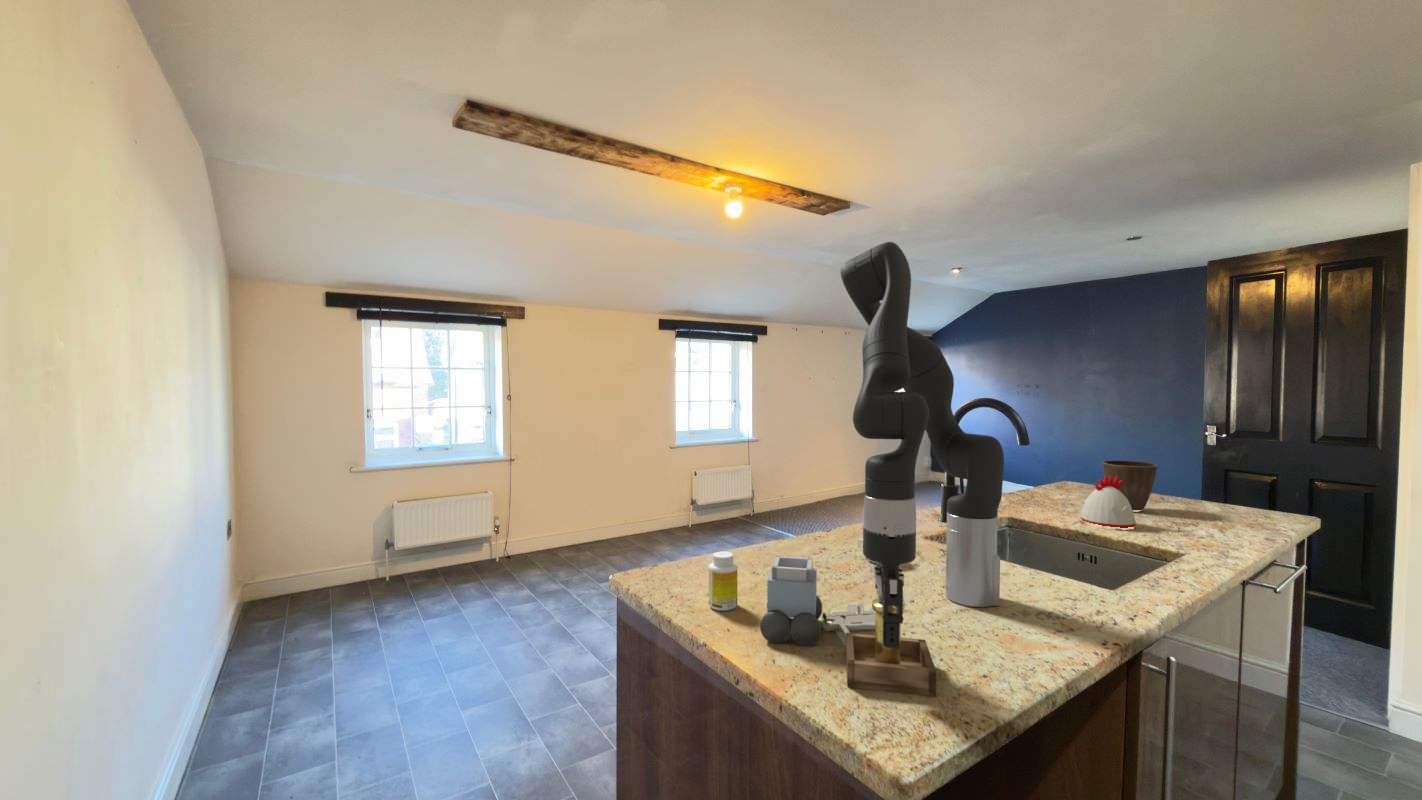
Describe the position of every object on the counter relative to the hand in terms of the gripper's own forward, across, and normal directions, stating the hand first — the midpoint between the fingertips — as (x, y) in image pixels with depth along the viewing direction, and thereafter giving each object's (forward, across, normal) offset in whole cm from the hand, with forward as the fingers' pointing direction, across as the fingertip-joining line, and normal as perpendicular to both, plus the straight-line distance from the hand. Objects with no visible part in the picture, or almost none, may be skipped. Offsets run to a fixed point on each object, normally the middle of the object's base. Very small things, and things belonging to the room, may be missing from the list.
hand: (888, 633), depth 85 cm
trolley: (+6, -12, -15) cm, 20 cm away
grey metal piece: (+7, -12, -4) cm, 14 cm away
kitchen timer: (+6, -107, +74) cm, 130 cm away
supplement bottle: (+6, -20, -29) cm, 36 cm away
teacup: (+6, -56, +2) cm, 56 cm away
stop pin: (+5, 0, 0) cm, 5 cm away
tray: (+6, 0, 0) cm, 6 cm away
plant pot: (+6, -130, +90) cm, 158 cm away
